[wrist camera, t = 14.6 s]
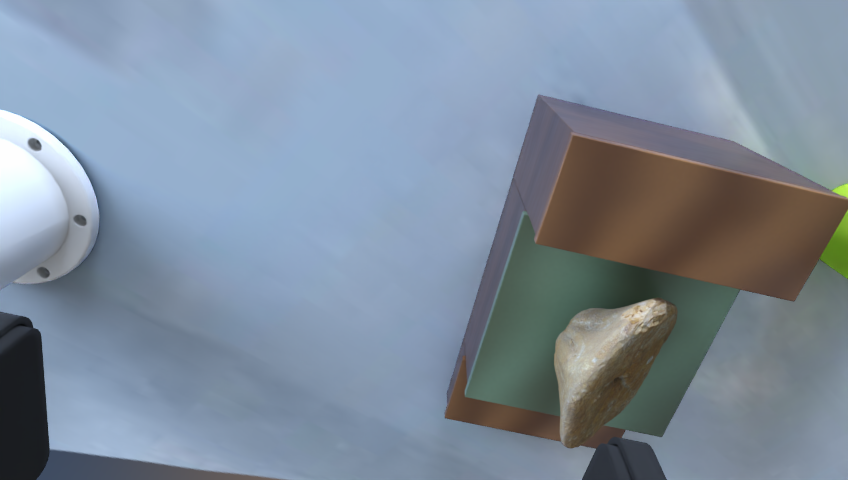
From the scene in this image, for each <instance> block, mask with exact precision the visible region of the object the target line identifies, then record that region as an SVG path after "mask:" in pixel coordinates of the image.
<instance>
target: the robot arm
mask: <svg viewBox="0 0 848 480" xmlns="http://www.w3.org/2000/svg"><path fill="white" fill-rule="evenodd" d="M98 231H99V209H98V204H97V198H96V195H95V193H94V190H93V187H92V185H91V182H90V180H89V178H88V177H87V175H86V173H85V171H84V170H83V168H82V166H81V165H80V163H79V162H78V161H77V160H76V158H75V157H74V156H73V155H72V153H71V152H70V151H69V150H68V149H67V148H66V147H65V146H64V145H63V144H62V143H61V142H60V141H59V140H58V139H56V138H55V137H54V136H53V135H52V134H50V133H49V132H47V131H46V130H44V129H43V128H42V127H40V126H39V125H37V124H35V123H33V122H31V121H29V120H27V119H25V118H23V117H21V116H19V115H17V114H13V113H10V112H7V111H4V110H1V109H0V290H2V289H3V288H5V287H6V286H8V285H9V284H11V283H18V284H40V283H44V282H48V281H52V280H55V279H57V278H60V277H62V276H64V275H66V274H68V273H69V272H70V271H72V270H73V269H74V268H76V267H77V266H79V265H80V264H81V263H82V262H83V261H84V259H85V258H86V257H87V256H88V255H89V254H90V252H91V250H92V248H93V246H94V245H95V242H96V238H97V235H98ZM48 457H49V436H48V422H47V409H46V395H45V381H44V367H43V354H42V340H41V334H40V332H39V330H38V329H35V328H33V324H32V322H31V320H30V319H29V318H26V317H23V316H18V315H13V314H8V313H3V312H0V480H36V479H37V478H38V477H39V475H40V474H41V472H42V471H43V469H44V468H45V466H46V463H47V461H48ZM582 480H667V479H666V477H665V475H664V473H663V471H662V468H661V466H660V464H659V462H658V460H657V458H656V455H655V453H654V451H653V449H652V448H651V446H650V445H648V444H647V443H643V442H638V441H633V440H629V439H624V438H619V437H613V438H611V439H610V440H609V441H608V443H607V444H604V443H601V444H600V445H599V446H598V447H597V449H596V451H595V453H594V455H593V457H592V459H591V461H590V464H589V466H588V468H587V470H586V472H585V474H584V476H583V478H582Z"/></svg>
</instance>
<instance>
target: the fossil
mask: <svg viewBox="0 0 848 480" xmlns="http://www.w3.org/2000/svg"><path fill="white" fill-rule="evenodd" d="M677 313H678V310H677V307H676V306H675V305H674V304H673V303H671V302H669V301H666V300H663V299H662V298H653V299H649V300H645V301H642V302H638V303H635V304H632V305H629V306H625V307H621V308H616V309H604V308H589V309H587V310H584V311H581V312H580V313H578V314H577V315H575V316H574V317H573V318H572V319H571V320H570V322H569V325H568V326H567V327H566V329H565V330H564V331H563V332H561V333H560V334H559V336H558V338H557V340H556V345H555V354H554V366H555V372H556V376H557V380H558V386H559V388H558V389H559V398H560V412H561V413H560V437H561V442H562V444H563V445H564V446H566V447H567V448H575V447H579V446H580V445H581V444H584V443H585V442H586V441H587V440H589V438H591V437H593V436H594V434H595V433H596V432H597V431H598V430H599V429H600V428H601V427H602V426H603V425H604V424H606V423H608V422H609V421H610V420H612V419H613V418H614V417H616V416H617V415H618V414H620V413H621V412H622V411H623V410H624V408H625V407H626V406H627V405H628V404H629V403H630V401H631V400H632V399H633V398H634V396H635V395H636V393H637V391H638V389H639V388H640V386H641V385H642V383H643V381H644V379H645V378H646V376H647V375H648V373H649V371H650V369H651V366H652V364H653V362H654V360H655V358H656V356H657V355H658V354H659V352H660V349H661V347H662V346H663V344H664V343H665V342H666V340H667V338H668V337H669V335H670V333H671V331H672V330H673V328H674V325H675V324H676V320H677Z"/></svg>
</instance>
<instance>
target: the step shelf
mask: <svg viewBox="0 0 848 480" xmlns="http://www.w3.org/2000/svg"><path fill="white" fill-rule="evenodd" d="M847 210H848V198H847V197H845V196H841V195H839V194H837V193H835V192H833V191H831V190H829V189H827V188H825V187H823V186H821V185H819V184H817V183H815V182H813V181H811V180H809V179H807V178H805V177H803V176H801V175H799V174H797V173H795V172H793V171H791V170H789V169H787V168H785V167H783V166H781V165H779V164H777V163H775V162H773V161H771V160H769V159H767V158H766V157H764V156H762V155H760V154H758V153H756V152H754V151H752V150H750V149H748V148H746V147H744V146H742V145H740V144H738V143H736V142H734V141H730V140H726V139H722V138H717V137H713V136H709V135H705V134H701V133H697V132H692V131H688V130H684V129H680V128H676V127H672V126H667V125H663V124H659V123H655V122H651V121H647V120H642V119H638V118H634V117H630V116H626V115H622V114H617V113H613V112H609V111H605V110H601V109H597V108H592V107H588V106H584V105H580V104H576V103H572V102H567V101H563V100H559V99H555V98H551V97H547V96H543V95H538V97H537V100H536V104H535V107H534V110H533V113H532V117H531V120H530V123H529V127H528V130H527V133H526V136H525V140H524V143H523V146H522V149H521V153H520V156H519V159H518V162H517V166H516V169H515V172H514V176H513V179H512V182H511V186H510V189H509V192H508V195H507V199H506V202H505V205H504V208H503V212H502V215H501V218H500V221H499V225H498V228H497V231H496V235H495V238H494V241H493V244H492V248H491V251H490V254H489V257H488V261H487V264H486V267H485V270H484V274H483V277H482V280H481V283H480V287H479V290H478V293H477V297H476V300H475V303H474V306H473V310H472V313H471V316H470V319H469V323H468V326H467V329H466V332H465V336H464V339H463V342H462V346H461V349H460V352H459V355H458V359H457V362H456V365H455V368H454V372H453V375H452V378H451V381H450V385H449V388H448V391H447V407H446V410H445V418H447V419H452V420H457V421H462V422H467V423H472V424H477V425H482V426H487V427H492V428H497V429H502V430H506V431H511V432H516V433H521V434H526V435H531V436H536V437H541V438H546V439H551V440H556V441H561V437H560V413H561V412H560V398H559V389H558V388H559V386H558V380H557V376H556V372H555V366H554V354H555V345H556V340H557V338H558V336H559V334H560V333H561V332H563V331H564V330H565V329H566V327H567V326H568V325H569V322H570V320H571V319H572V318H573V317H574V316H575V315H577V314H578V313H580V312H581V311H584V310H587V309H589V308H604V309H616V308H621V307H625V306H629V305H632V304H635V303H638V302H642V301H645V300H649V299H653V298H662V299H663V300H666V301H669V302H671V303H673V304H674V305H675V306H676V307H677V310H678V313H677V320H676V324H675V325H674V328H673V330H672V331H671V333H670V335H669V337H668V338H667V340H666V342H665V343H664V344H663V346H662V347H661V349H660V352H659V354H658V355H657V356H656V358H655V360H654V362H653V364H652V366H651V369H650V371H649V373H648V375H647V376H646V378H645V379H644V381H643V383H642V385H641V386H640V388H639V389H638V391H637V393H636V395H635V396H634V398H633V399H632V400H631V401H630V403H629V404H628V405H627V406H626V407H625V408H624V410H623V411H622V412H621V413H620V414H618V415H617V416H616V417H614V418H613V419H612V420H610V421H609V422H608V423H606V424H604V425H603V426H602V427H601V428H600V429H599V430H598V431H597V432H596V433H595V434H594V436H593V437H591V438H589V440H587V441H586V442H585V443H584V444H581V446H586V447H591V448H596V449H597V447H598V446H599V445H600V444H601V443H604V444H607V443H608V441H609V440H610V439H611V438H613V437H619V438H622V436H623V434H624V432H625V430H629V431H634V432H639V433H644V434H649V435H654V436H659V437H662V436H663V434H664V432H665V430H666V428H667V426H668V425H669V423H670V421H671V419H672V417H673V415H674V413H675V411H676V409H677V408H678V406H679V404H680V402H681V400H682V398H683V396H684V394H685V393H686V391H687V389H688V387H689V385H690V383H691V381H692V379H693V377H694V376H695V374H696V372H697V370H698V368H699V366H700V364H701V362H702V361H703V359H704V357H705V355H706V353H707V351H708V349H709V347H710V346H711V344H712V342H713V340H714V338H715V336H716V334H717V332H718V330H719V329H720V327H721V325H722V323H723V321H724V319H725V317H726V315H727V314H728V312H729V310H730V308H731V306H732V304H733V302H734V300H735V298H736V297H737V295H738V293H739V291H740V290H745V291H749V292H754V293H758V294H763V295H767V296H772V297H776V298H781V299H785V300H790V301H795V300H796V298H797V296H798V294H799V293H800V291H801V289H802V288H803V286H804V284H805V282H806V281H807V279H808V277H809V276H810V274H811V272H812V270H813V269H814V267H815V265H816V264H817V262H818V260H819V258H820V257H821V255H822V253H823V252H824V250H825V248H826V246H827V245H828V243H829V241H830V240H831V238H832V236H833V234H834V233H835V231H836V229H837V228H838V226H839V224H840V222H841V221H842V219H843V217H844V216H845V214H846V212H847Z"/></svg>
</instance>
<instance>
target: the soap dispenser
mask: <svg viewBox="0 0 848 480" xmlns="http://www.w3.org/2000/svg"><path fill="white" fill-rule="evenodd" d="M831 191H833V192H835V193H837V194H839V195H841V196H845V197H847V198H848V184H845V185H842V186H839V187H837V188H835V189H833V190H831ZM819 259H820V260H821V261H823V262H824V263H826V264H827V265H828V266H830V267H831V268H833V269H834V270H836V271H837V272H838V273H840V274H841V275H843V276H844V277H846V278H847V279H848V210H847V212H846V214H845V216H844V217H843V219H842V221H841V222H840V224H839V226H838V228H837V229H836V231H835V233H834V234H833V236H832V238H831V240H830V241H829V243H828V245H827V246H826V248H825V250H824V252H823V253H822V255H821V257H820V258H819Z"/></svg>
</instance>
